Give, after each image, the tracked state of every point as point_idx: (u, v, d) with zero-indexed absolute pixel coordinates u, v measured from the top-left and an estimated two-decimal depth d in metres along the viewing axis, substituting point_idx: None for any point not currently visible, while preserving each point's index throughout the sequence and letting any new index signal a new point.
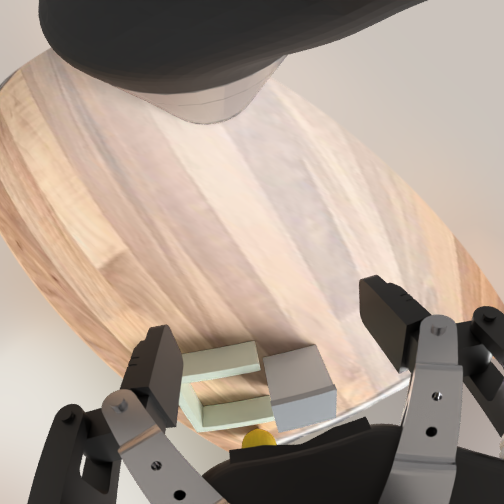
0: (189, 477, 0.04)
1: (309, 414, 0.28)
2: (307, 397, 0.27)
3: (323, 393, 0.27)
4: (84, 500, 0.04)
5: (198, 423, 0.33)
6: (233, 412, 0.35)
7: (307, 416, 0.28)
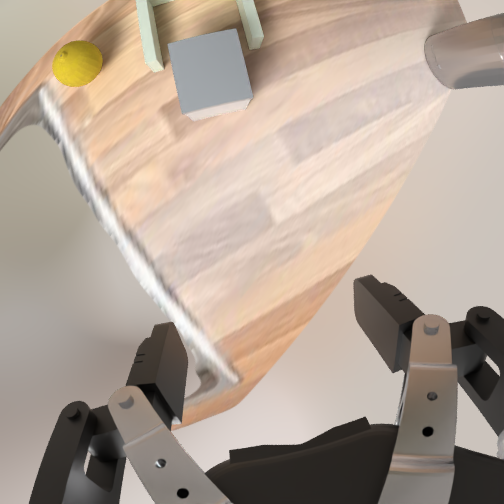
0: (193, 475, 0.04)
1: (204, 72, 0.20)
2: (244, 64, 0.21)
3: (247, 83, 0.21)
4: (87, 498, 0.04)
5: None
6: (153, 27, 0.23)
7: (201, 71, 0.20)
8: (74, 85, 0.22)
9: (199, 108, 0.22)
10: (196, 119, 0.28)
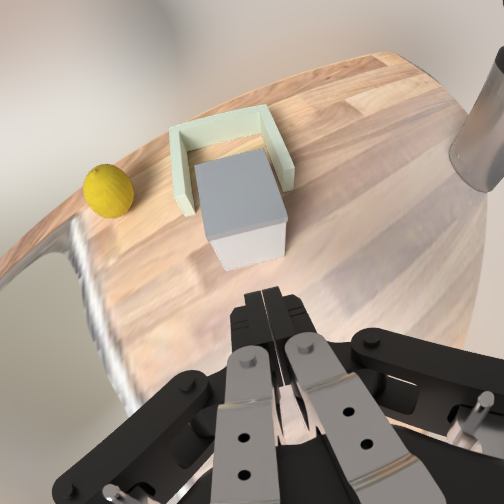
0: (265, 463, 0.04)
1: (232, 193, 0.22)
2: (275, 183, 0.22)
3: (280, 202, 0.22)
4: (155, 471, 0.05)
5: (187, 126, 0.31)
6: (185, 167, 0.31)
7: (228, 191, 0.22)
8: (101, 212, 0.28)
9: (226, 231, 0.21)
10: (228, 267, 0.27)
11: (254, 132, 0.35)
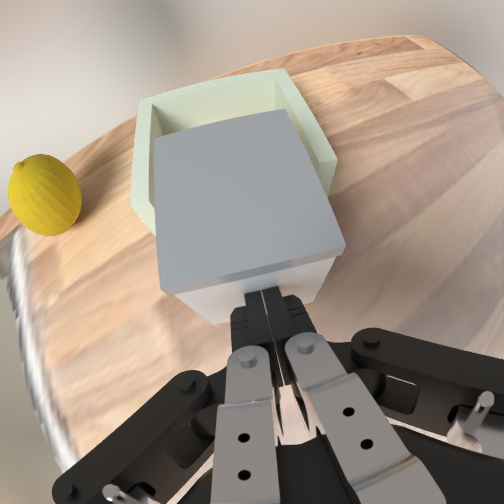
0: (265, 463, 0.04)
1: (222, 189, 0.10)
2: (313, 171, 0.10)
3: (327, 212, 0.10)
4: (155, 471, 0.05)
5: (166, 98, 0.20)
6: None
7: (214, 186, 0.10)
8: (32, 228, 0.16)
9: (205, 277, 0.09)
10: (217, 321, 0.15)
11: (265, 109, 0.23)
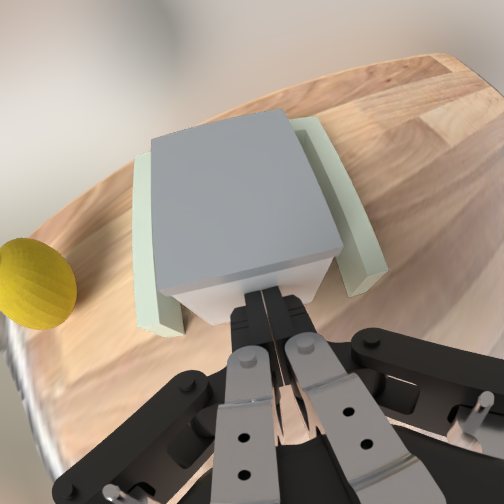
0: (265, 463, 0.04)
1: (219, 190, 0.10)
2: (310, 171, 0.10)
3: (324, 212, 0.10)
4: (155, 471, 0.05)
5: None
6: None
7: (211, 187, 0.10)
8: (24, 326, 0.13)
9: (202, 278, 0.09)
10: (216, 321, 0.15)
11: None
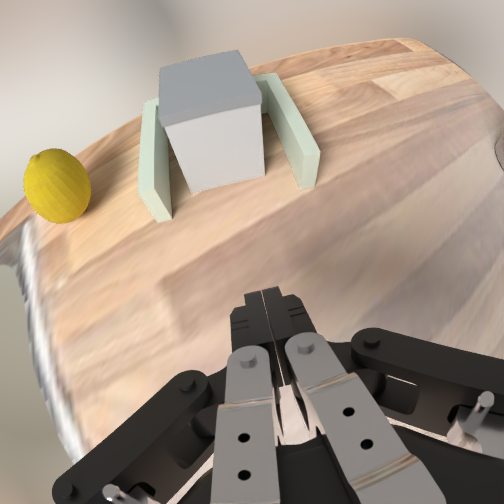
0: (265, 463, 0.04)
1: (196, 81, 0.16)
2: (248, 71, 0.16)
3: (252, 84, 0.15)
4: (155, 471, 0.05)
5: None
6: (162, 152, 0.22)
7: (192, 80, 0.16)
8: (45, 215, 0.18)
9: (183, 110, 0.15)
10: (194, 184, 0.21)
11: None
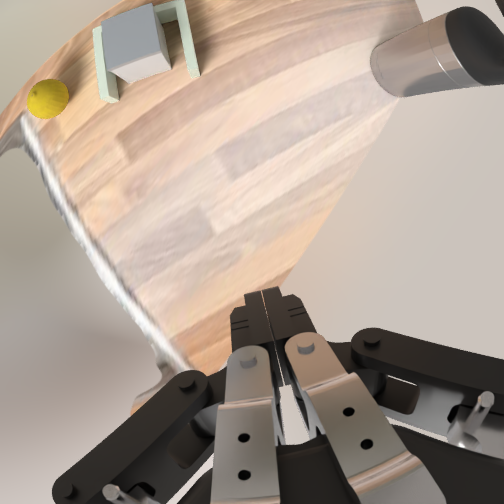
0: (265, 463, 0.04)
1: (125, 38, 0.21)
2: (155, 27, 0.22)
3: (157, 40, 0.22)
4: (155, 471, 0.05)
5: None
6: None
7: (122, 37, 0.21)
8: (46, 118, 0.26)
9: (119, 64, 0.23)
10: (130, 80, 0.29)
11: (172, 19, 0.27)
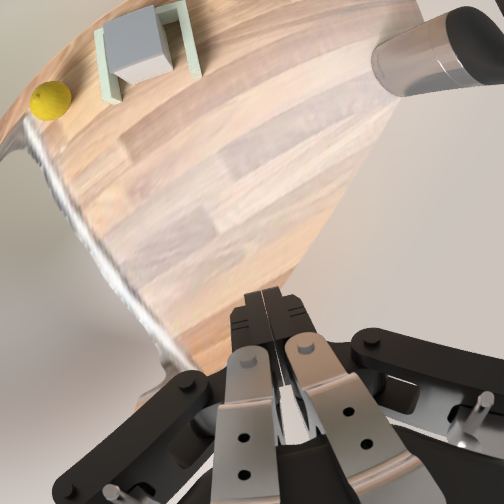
0: (265, 463, 0.04)
1: (127, 40, 0.22)
2: (157, 29, 0.22)
3: (158, 42, 0.23)
4: (155, 471, 0.05)
5: None
6: None
7: (124, 39, 0.22)
8: (48, 120, 0.27)
9: (121, 66, 0.23)
10: (132, 82, 0.29)
11: (173, 20, 0.27)
